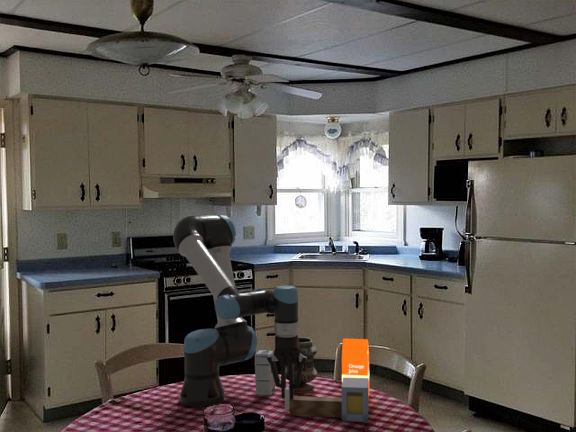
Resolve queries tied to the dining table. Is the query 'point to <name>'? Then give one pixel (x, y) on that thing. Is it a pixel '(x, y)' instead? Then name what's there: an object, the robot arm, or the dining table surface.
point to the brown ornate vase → (305, 366)
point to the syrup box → (264, 373)
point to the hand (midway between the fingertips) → (287, 408)
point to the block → (354, 402)
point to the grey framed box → (355, 386)
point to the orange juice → (355, 359)
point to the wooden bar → (315, 406)
